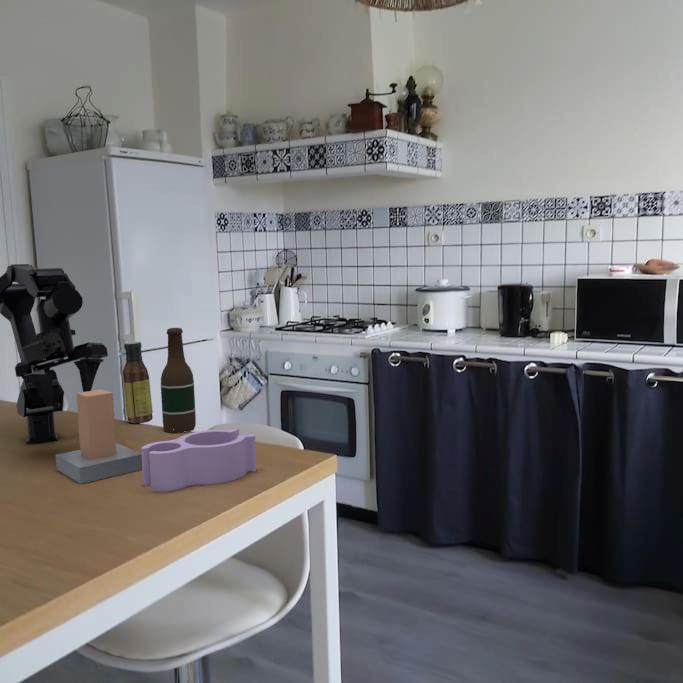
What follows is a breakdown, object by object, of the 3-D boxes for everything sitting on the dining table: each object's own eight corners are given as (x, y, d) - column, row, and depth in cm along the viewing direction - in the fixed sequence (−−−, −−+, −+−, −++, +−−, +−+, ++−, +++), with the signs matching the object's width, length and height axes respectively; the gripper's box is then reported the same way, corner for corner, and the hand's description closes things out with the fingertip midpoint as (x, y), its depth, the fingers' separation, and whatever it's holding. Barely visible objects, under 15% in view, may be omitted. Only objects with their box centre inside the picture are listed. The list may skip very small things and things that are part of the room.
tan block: (80, 454, 133) (76, 393, 131) (105, 449, 136) (101, 389, 134) (91, 459, 129) (86, 396, 127) (116, 454, 132) (112, 392, 131)
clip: (161, 498, 116) (158, 458, 115) (134, 480, 126) (132, 443, 125) (264, 474, 128) (262, 437, 127) (232, 459, 138) (231, 425, 137)
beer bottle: (167, 435, 157) (161, 330, 154) (159, 428, 164) (153, 328, 161) (200, 430, 161) (195, 328, 158) (191, 423, 168) (186, 325, 165)
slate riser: (56, 469, 133) (55, 454, 133) (116, 456, 141) (115, 442, 141) (80, 484, 124) (79, 467, 124) (142, 469, 132) (141, 454, 132)
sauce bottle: (156, 418, 174) (152, 340, 172) (147, 424, 168) (142, 343, 166) (131, 418, 175) (126, 340, 173) (121, 424, 169) (116, 344, 167)
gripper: (-12, 336, 137) (1, 413, 135) (66, 312, 132) (80, 391, 130) (29, 339, 147) (41, 410, 145) (102, 317, 142) (116, 390, 140)
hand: (68, 401), depth 140 cm, fingers open, 9 cm apart
